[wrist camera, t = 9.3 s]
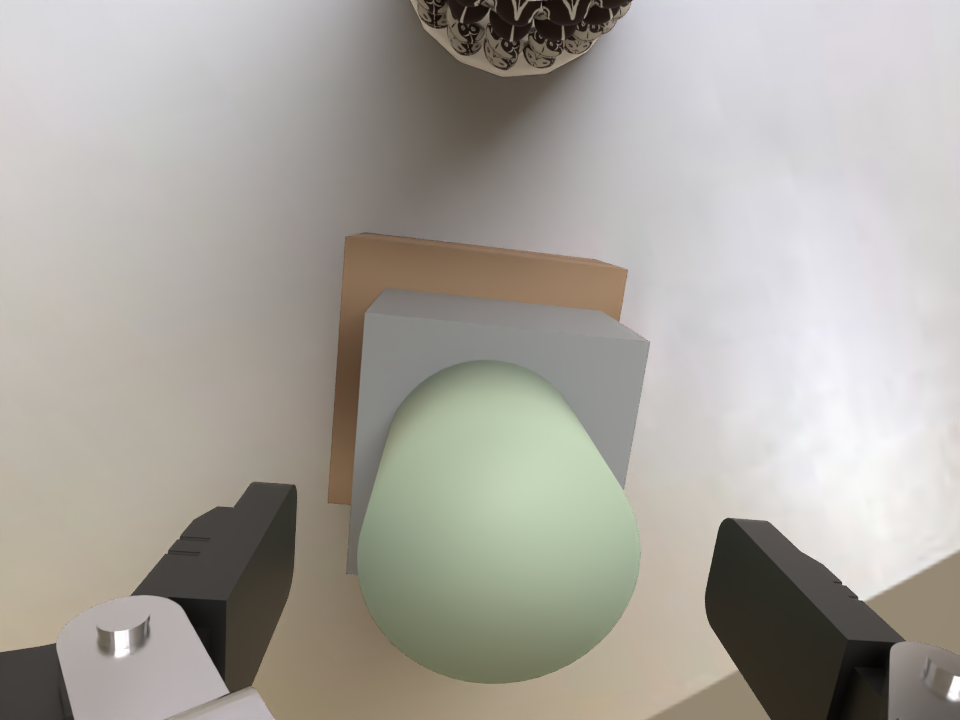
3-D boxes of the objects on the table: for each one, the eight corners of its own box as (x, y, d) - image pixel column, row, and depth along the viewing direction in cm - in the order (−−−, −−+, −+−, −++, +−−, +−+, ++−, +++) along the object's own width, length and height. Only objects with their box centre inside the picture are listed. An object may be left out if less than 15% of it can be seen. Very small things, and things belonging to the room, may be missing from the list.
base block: (559, 467, 27) (584, 524, 22) (350, 449, 26) (327, 503, 21) (592, 258, 25) (627, 269, 20) (366, 232, 24) (345, 237, 19)
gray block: (570, 507, 22) (605, 592, 17) (369, 491, 21) (346, 573, 16) (601, 310, 20) (650, 341, 15) (385, 287, 20) (365, 312, 15)
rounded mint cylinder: (594, 368, 15) (660, 438, 11) (568, 549, 16) (619, 689, 12) (392, 351, 15) (364, 416, 10) (380, 538, 16) (350, 677, 11)
